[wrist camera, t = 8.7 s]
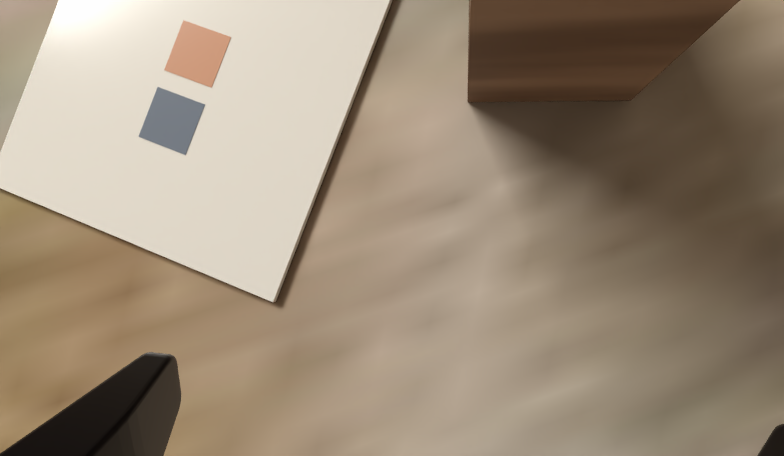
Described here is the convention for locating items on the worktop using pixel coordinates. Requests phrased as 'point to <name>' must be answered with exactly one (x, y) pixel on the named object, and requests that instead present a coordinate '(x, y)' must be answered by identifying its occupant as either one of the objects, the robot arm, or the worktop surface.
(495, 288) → the worktop surface
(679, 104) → the worktop surface
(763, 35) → the worktop surface
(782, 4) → the worktop surface
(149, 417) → the robot arm
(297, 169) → the tile
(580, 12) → the walnut block
